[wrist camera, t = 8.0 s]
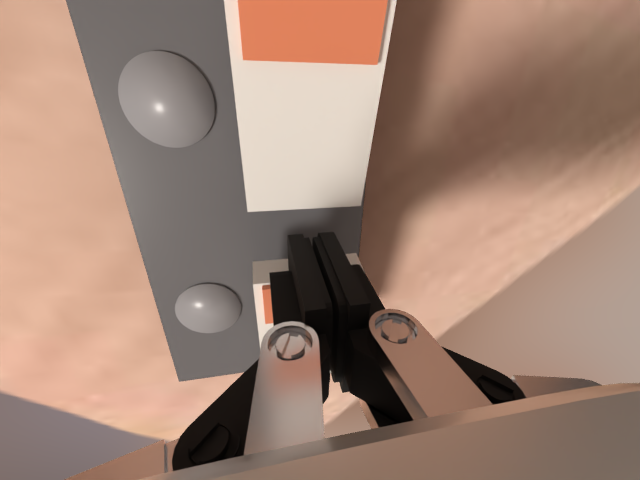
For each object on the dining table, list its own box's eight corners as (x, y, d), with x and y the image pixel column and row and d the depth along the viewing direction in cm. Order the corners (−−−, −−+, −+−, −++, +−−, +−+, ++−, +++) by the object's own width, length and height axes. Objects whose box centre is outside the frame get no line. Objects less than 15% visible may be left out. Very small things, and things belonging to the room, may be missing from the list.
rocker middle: (221, -46, 7) (217, -52, 6) (384, -30, 8) (406, -33, 7) (247, 193, 11) (247, 215, 10) (352, 189, 12) (362, 208, 11)
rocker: (252, 261, 11) (252, 288, 10) (356, 253, 12) (367, 277, 11) (263, 359, 15) (264, 387, 14) (341, 349, 16) (348, 374, 14)
